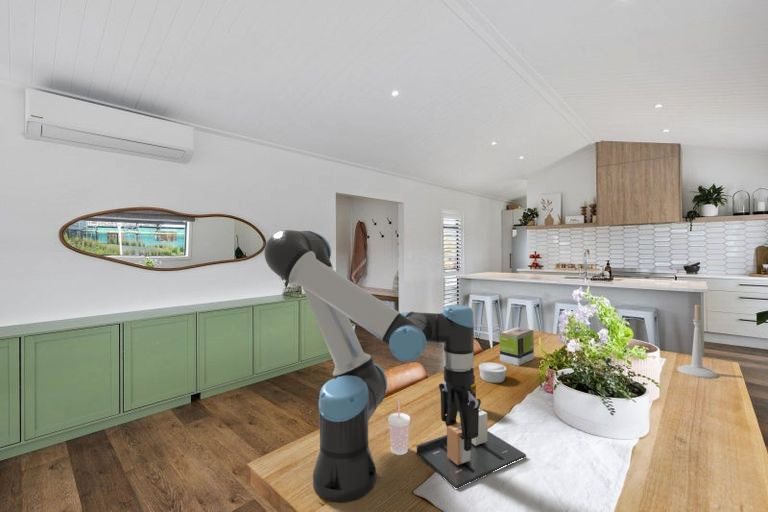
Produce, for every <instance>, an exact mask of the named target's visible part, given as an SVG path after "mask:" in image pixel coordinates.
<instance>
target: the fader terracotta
mask: <svg viewBox="0 0 768 512" xmlns="http://www.w3.org/2000/svg"><path fill="white" fill-rule="evenodd" d="M446 435H447V457H448V458H449V459H451V460H452V461H453V462H454V463H455V464H457V465H460V464H462V463H461V462H460V436H462V429H461V422H457V424H454V425H451V426H448V427H447V426H446ZM470 460H471V450H470Z"/></svg>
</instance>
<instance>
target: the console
mask: <svg viewBox="0 0 768 512" xmlns="http://www.w3.org/2000/svg"><path fill="white" fill-rule="evenodd" d="M416 455H417V456H418V457H419V458H420V459H421V460H423V462H424V463H426V464H427V465H428V466H429V467H430V468H431V469H433V470H434V471H435V473H437V472H438V473H439V474H440V475H441V476H442V477H441V476H440V475H439V474H438V473H437V474H438V475H439V476H440V477H441V478H443V477H444V478H445V479H446V480H447V481H448V482H449V483H450V484H451V485H453V486H454V487H455V488H458V489H460V488H459V487H461V486H463V485H465V484H467V483H469V482H472V481H474V480H476V479H478V478H481V477H483V476H485V475H487V476H489V475H491V474H490V473H492V472H493V471H495V470H497V469H499V468H501V467H503V466H505V465H508V464H510V463H512V462H514V461H517V460H519V459H521V458H524V457H526V458H527V454H526V453H525V452H522V451H521V450H519V449H518V448H517V447H515V446H513V445H511V443H510V444H509V443H508V442H506V441H505V440H503V439H501V438H500V437H498V436H497V435H496V434H493V433H492V432H490V431H489V430H487V442H484V443H481V444H479V445H476V446H475V445H474V444H472V448H471V460H470V461H467V462H465V463H462V464H460V465H457V464H455V463H454V462H453V461H452V460H451V459H449V458H448V457H447V434H445V435H442V436H440V437H437V438H433V439H432V440H429V441H425V442H422V443H419V444H417V445H416ZM488 474H489V475H488ZM492 474H493V473H492ZM485 477H486V476H485ZM444 478H443V479H444ZM483 478H484V477H483ZM445 479H444V480H445ZM481 479H482V478H481ZM446 480H445V481H446ZM478 480H479V479H478ZM447 481H446V482H447ZM476 481H477V480H476ZM448 482H447V483H448ZM474 482H475V481H474ZM449 483H448V484H449ZM472 483H473V482H472ZM450 484H449V485H450ZM451 485H450V486H451ZM467 485H468V484H467ZM453 486H452V487H453ZM465 486H466V485H465ZM454 487H453V488H454ZM463 487H464V486H463ZM455 488H454V489H455ZM461 488H462V487H461Z"/></svg>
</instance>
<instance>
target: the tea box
mask: <svg viewBox="0 0 768 512" xmlns="http://www.w3.org/2000/svg"><path fill="white" fill-rule="evenodd" d="M534 343H535V342H534V330H533V329H530V328H523V327H517V326H513V327H510V328H507V329H504V330H502V331H499V362H502V363H505V362H506V364H509V365H512V364H513V366H516V365H517V367H518V366H521V365H523V364H526V363H527V362H529V361H532V360H534V359H535V352H534V351H535V350H534V348H535V347H534V345H535V344H534Z"/></svg>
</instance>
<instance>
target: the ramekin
mask: <svg viewBox="0 0 768 512" xmlns="http://www.w3.org/2000/svg"><path fill="white" fill-rule="evenodd" d="M478 369H479V374H480V376H479V377H480V378H481V380H482V381H484V382H487V383H490V384H491V383H492V384H494V383H495V384H499V383H503V382H504V381H505V379H506V373H507V367H506V366H505V365H504V364H502V363H498V362H482V363H480V364H479V365H478Z"/></svg>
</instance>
